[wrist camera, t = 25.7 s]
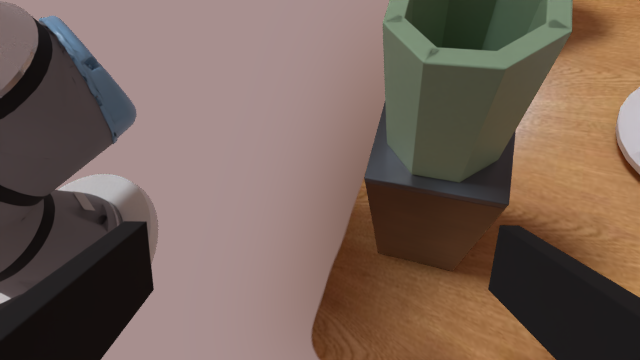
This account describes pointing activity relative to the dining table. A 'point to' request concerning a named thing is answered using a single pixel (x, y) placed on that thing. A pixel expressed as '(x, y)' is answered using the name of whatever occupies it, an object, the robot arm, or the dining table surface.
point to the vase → (630, 129)
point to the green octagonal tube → (464, 77)
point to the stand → (432, 206)
